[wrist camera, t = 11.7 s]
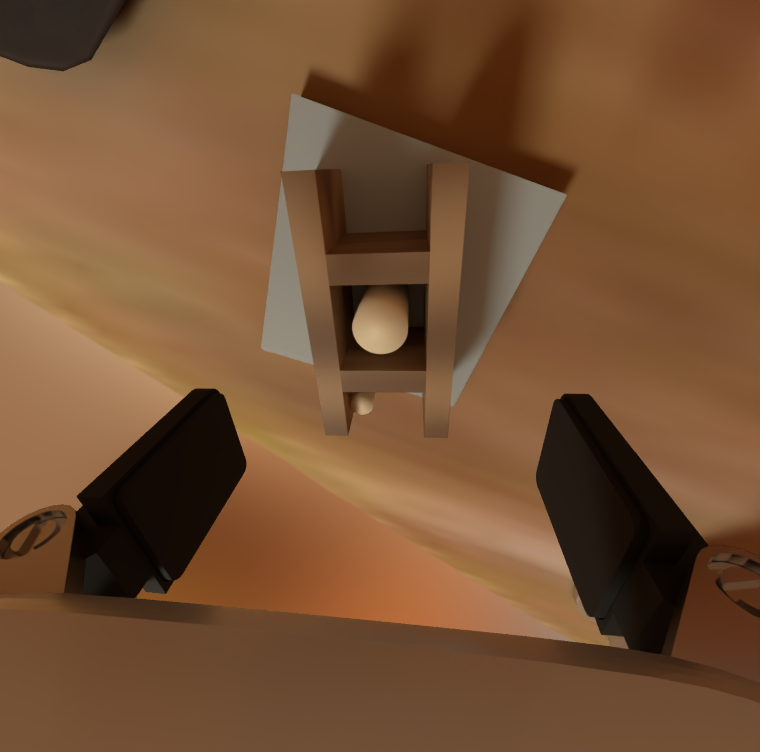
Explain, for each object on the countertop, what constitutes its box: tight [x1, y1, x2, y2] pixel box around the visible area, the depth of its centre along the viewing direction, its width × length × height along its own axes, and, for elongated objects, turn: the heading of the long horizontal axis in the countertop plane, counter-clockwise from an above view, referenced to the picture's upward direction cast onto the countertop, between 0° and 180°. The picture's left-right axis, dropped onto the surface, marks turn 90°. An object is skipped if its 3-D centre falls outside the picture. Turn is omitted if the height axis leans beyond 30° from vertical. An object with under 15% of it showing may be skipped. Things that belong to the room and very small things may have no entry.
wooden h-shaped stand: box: [281, 161, 470, 438], centre depth 17 cm, size 12×6×5 cm, turn 3°
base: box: [261, 94, 567, 415], centre depth 17 cm, size 13×13×6 cm
